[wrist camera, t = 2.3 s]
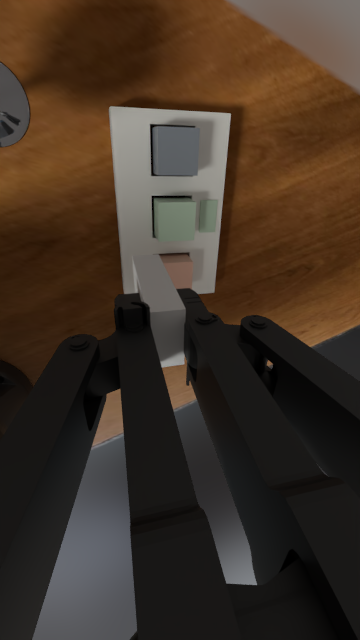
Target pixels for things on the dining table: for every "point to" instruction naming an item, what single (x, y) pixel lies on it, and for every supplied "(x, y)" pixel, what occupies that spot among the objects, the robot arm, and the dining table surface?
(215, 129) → the button board
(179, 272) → the salmon pink button
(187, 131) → the slate grey button
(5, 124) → the silver goblet
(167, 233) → the sage button
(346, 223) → the dining table surface
